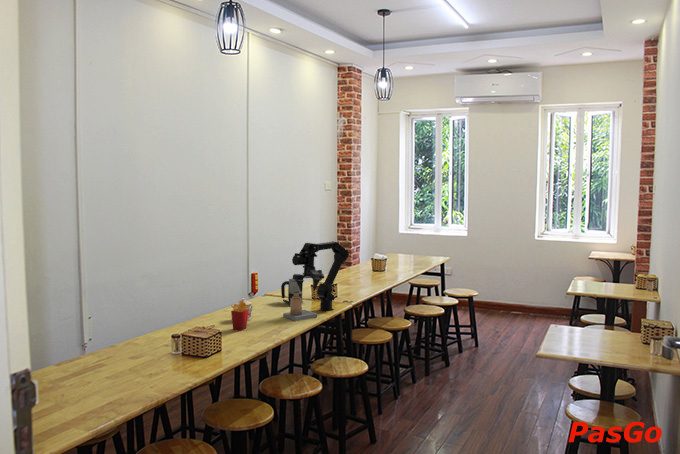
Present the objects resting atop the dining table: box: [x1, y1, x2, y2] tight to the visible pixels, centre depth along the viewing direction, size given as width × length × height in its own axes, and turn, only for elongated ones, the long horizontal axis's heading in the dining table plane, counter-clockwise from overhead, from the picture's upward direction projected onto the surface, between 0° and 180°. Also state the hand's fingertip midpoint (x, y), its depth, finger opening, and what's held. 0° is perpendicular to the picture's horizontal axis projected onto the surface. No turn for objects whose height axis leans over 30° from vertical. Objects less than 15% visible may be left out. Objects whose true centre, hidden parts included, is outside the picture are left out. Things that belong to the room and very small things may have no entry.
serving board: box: [282, 309, 318, 322], centre depth 310 cm, size 15×12×2 cm
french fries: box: [230, 301, 250, 332], centre depth 282 cm, size 9×8×15 cm
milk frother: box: [280, 277, 303, 306], centre depth 343 cm, size 14×16×15 cm
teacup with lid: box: [235, 297, 253, 322], centre depth 303 cm, size 12×9×12 cm
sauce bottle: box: [289, 291, 303, 316], centre depth 307 cm, size 6×6×13 cm
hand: (307, 291), depth 318 cm, fingers open, 9 cm apart
